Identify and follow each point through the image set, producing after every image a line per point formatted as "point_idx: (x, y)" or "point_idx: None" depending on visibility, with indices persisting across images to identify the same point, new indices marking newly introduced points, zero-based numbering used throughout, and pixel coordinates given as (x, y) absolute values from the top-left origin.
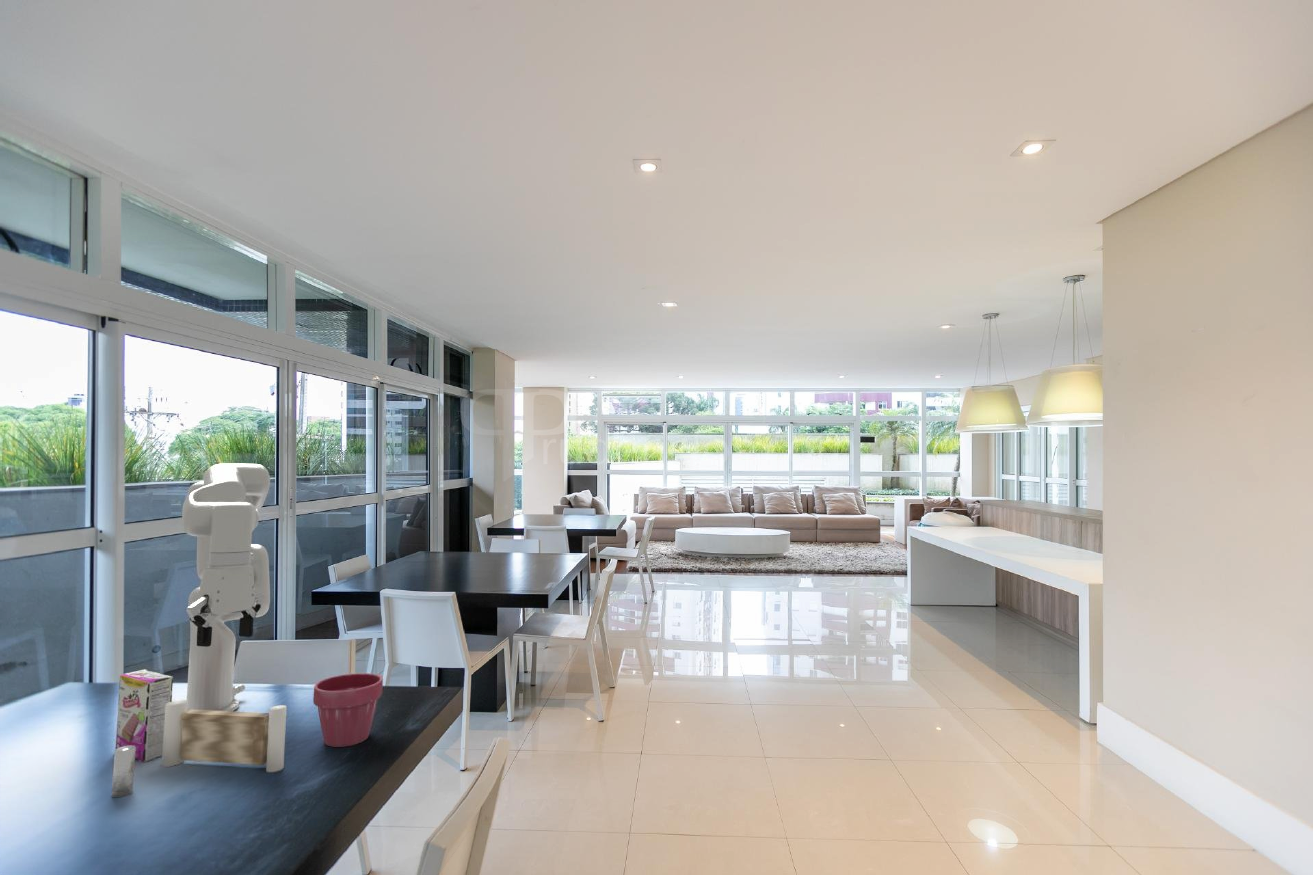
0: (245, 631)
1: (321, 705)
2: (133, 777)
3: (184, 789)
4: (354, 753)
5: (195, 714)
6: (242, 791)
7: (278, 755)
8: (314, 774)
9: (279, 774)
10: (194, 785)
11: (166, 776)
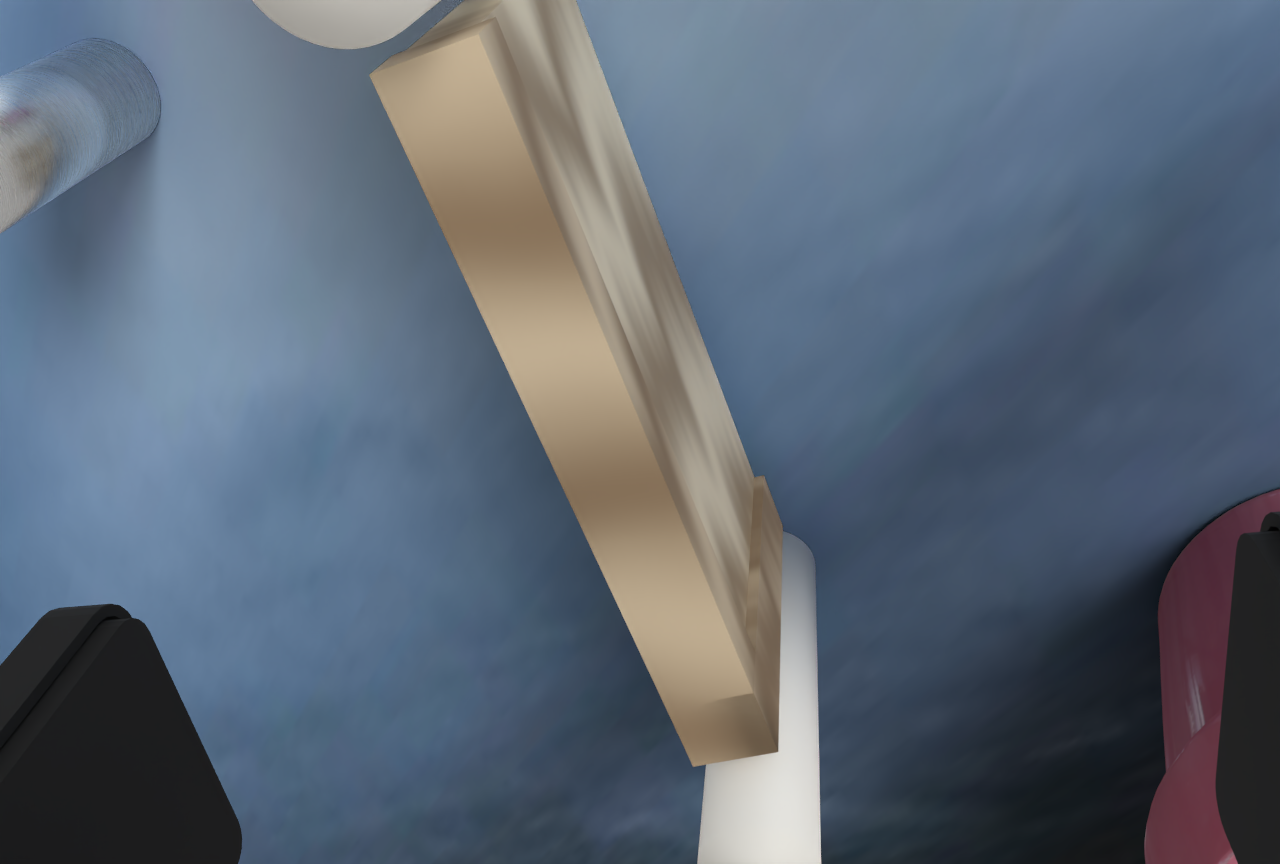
0: (1269, 800)
1: (1151, 824)
2: (113, 152)
3: (357, 369)
4: (1110, 763)
5: (441, 217)
6: (517, 632)
7: None
8: None
9: None
10: (412, 370)
11: (367, 85)
